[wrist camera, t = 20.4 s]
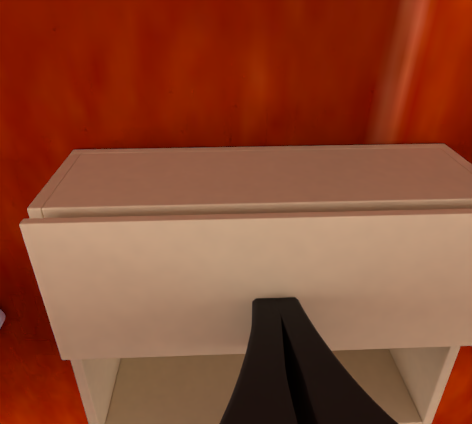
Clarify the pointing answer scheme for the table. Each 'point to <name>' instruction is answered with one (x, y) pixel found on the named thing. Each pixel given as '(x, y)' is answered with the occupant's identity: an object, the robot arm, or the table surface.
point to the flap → (252, 279)
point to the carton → (249, 202)
